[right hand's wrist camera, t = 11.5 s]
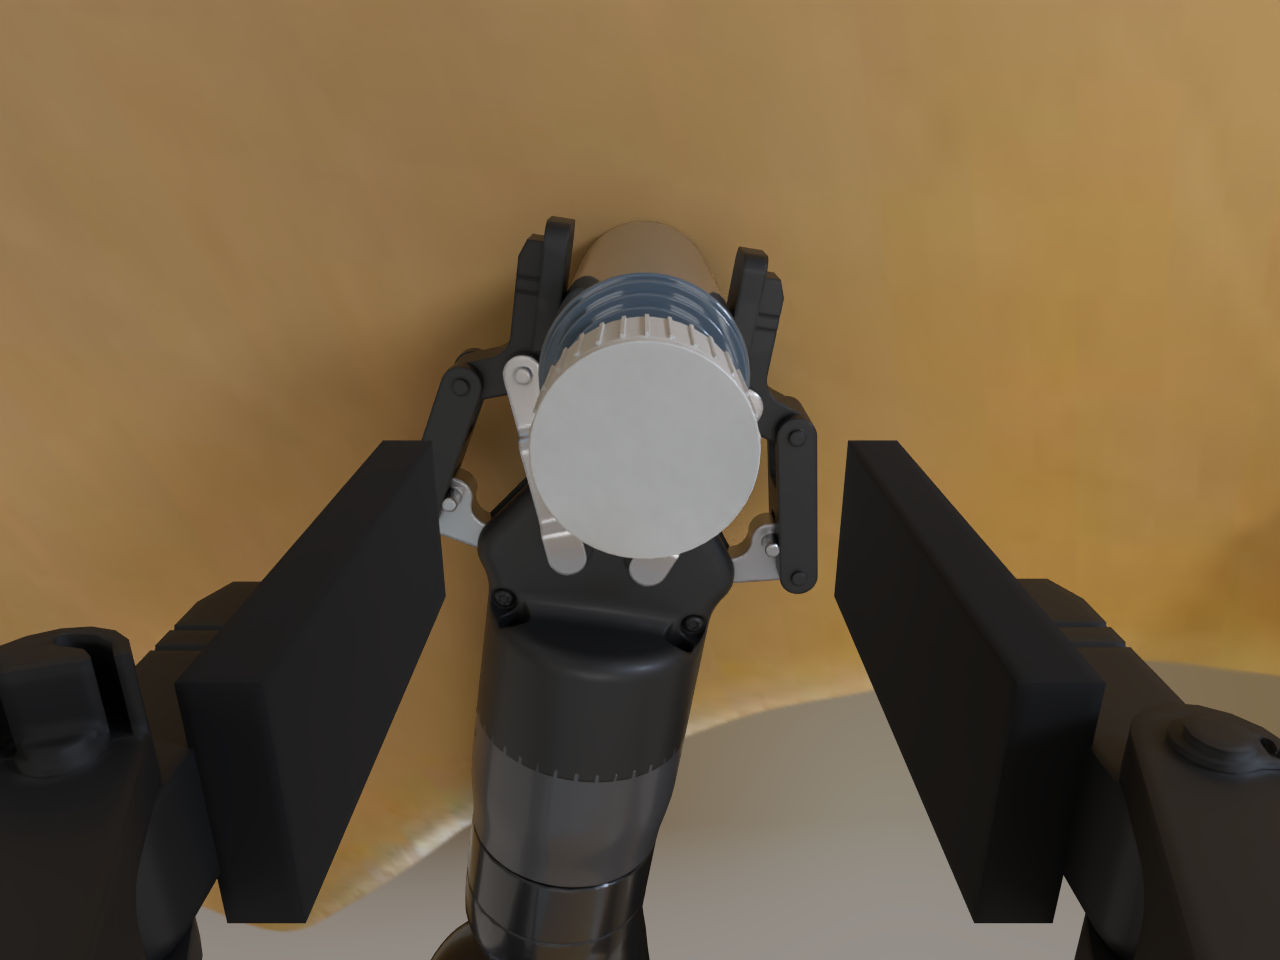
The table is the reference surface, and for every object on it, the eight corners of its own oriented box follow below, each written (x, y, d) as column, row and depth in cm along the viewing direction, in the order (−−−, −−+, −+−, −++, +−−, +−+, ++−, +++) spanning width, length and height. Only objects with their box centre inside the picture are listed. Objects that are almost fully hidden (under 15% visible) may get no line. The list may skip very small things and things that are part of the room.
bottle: (684, 376, 33) (722, 599, 17) (558, 333, 33) (478, 523, 17) (732, 248, 32) (823, 366, 16) (599, 200, 31) (555, 273, 15)
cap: (706, 539, 19) (713, 589, 17) (513, 478, 18) (496, 522, 16) (782, 354, 17) (802, 384, 15) (575, 282, 17) (566, 303, 15)
